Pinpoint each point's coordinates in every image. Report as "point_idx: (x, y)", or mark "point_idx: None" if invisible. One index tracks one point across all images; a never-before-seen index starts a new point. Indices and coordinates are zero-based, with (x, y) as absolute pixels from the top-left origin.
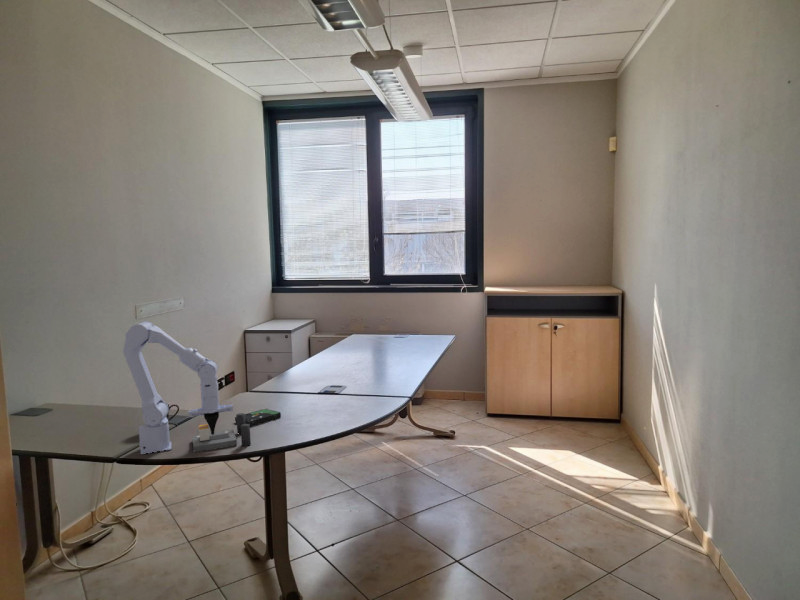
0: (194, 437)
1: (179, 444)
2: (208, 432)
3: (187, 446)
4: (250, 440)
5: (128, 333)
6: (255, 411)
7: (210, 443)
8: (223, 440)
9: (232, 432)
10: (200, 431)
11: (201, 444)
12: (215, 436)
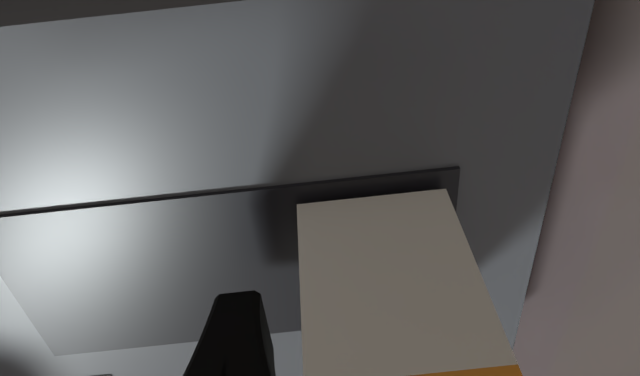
0: None
1: (624, 293)
2: (307, 304)
3: (567, 218)
4: None
5: None
6: None
7: (263, 33)
8: (29, 115)
9: (7, 369)
10: (480, 325)
11: (436, 40)
12: None
